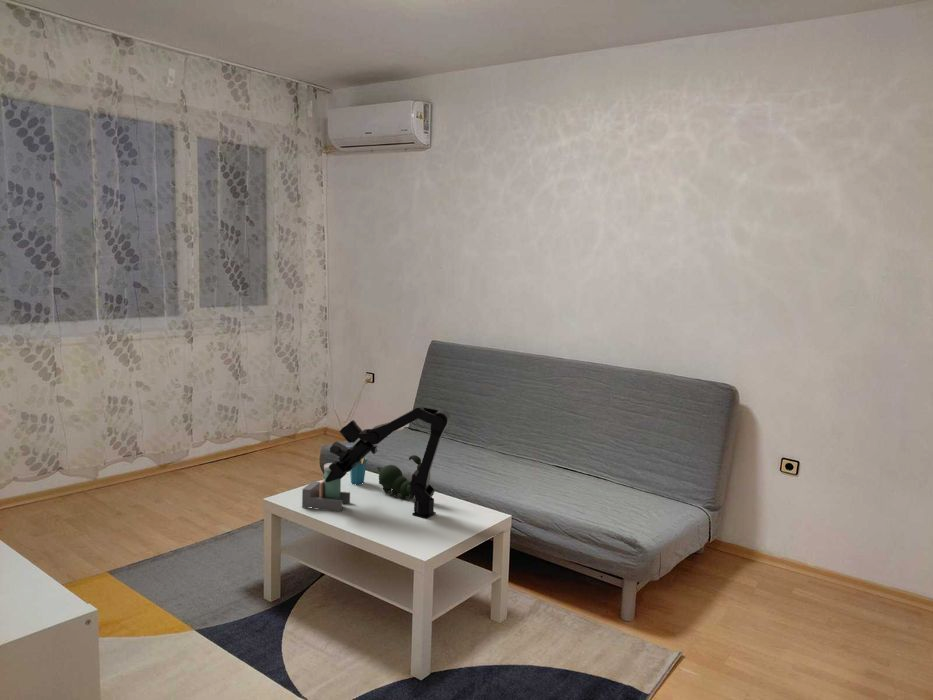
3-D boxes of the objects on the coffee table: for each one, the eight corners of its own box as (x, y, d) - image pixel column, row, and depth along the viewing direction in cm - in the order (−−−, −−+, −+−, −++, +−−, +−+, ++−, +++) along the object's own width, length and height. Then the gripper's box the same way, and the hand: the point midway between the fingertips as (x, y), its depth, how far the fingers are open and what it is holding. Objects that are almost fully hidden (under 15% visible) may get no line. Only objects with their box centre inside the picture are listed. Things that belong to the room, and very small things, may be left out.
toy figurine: (429, 503, 266) (383, 483, 280) (434, 457, 262) (387, 440, 277) (413, 509, 258) (366, 489, 273) (418, 461, 255) (371, 444, 270)
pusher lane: (349, 502, 257) (350, 484, 257) (341, 511, 247) (341, 492, 247) (312, 499, 260) (312, 481, 259) (302, 507, 250) (302, 489, 249)
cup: (338, 480, 284) (339, 445, 283) (353, 477, 290) (354, 442, 288) (358, 488, 275) (359, 452, 273) (373, 484, 280) (374, 449, 279)
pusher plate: (327, 501, 257) (328, 478, 256) (320, 507, 250) (321, 483, 249) (325, 500, 257) (326, 477, 256) (318, 506, 250) (319, 483, 249)
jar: (344, 497, 254) (345, 464, 253) (333, 501, 248) (333, 468, 247) (331, 493, 257) (332, 461, 256) (319, 498, 252) (320, 465, 250)
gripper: (351, 430, 259) (323, 456, 262) (334, 441, 241) (304, 469, 243) (370, 452, 259) (342, 477, 261) (355, 465, 240) (325, 492, 243)
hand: (329, 478), depth 252 cm, fingers closed on jar, 6 cm apart
